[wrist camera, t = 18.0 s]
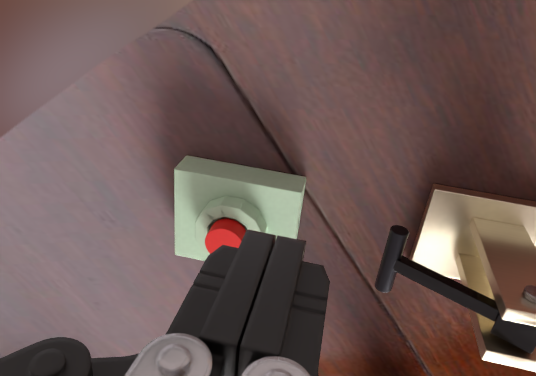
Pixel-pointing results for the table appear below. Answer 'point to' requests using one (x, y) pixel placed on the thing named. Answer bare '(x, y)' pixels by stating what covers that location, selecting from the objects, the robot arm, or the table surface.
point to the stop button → (224, 234)
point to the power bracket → (484, 259)
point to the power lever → (448, 290)
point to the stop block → (232, 201)
